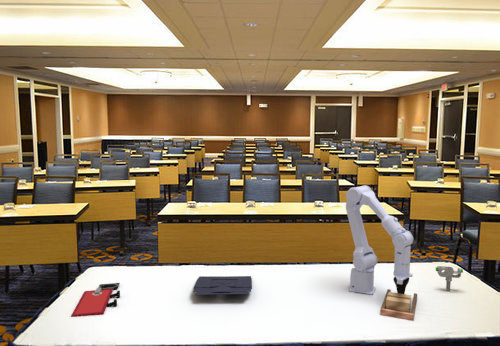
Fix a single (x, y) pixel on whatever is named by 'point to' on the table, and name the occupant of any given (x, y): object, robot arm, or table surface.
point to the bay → (398, 313)
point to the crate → (398, 302)
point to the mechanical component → (448, 274)
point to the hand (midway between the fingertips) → (400, 295)
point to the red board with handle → (96, 300)
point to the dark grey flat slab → (223, 285)
